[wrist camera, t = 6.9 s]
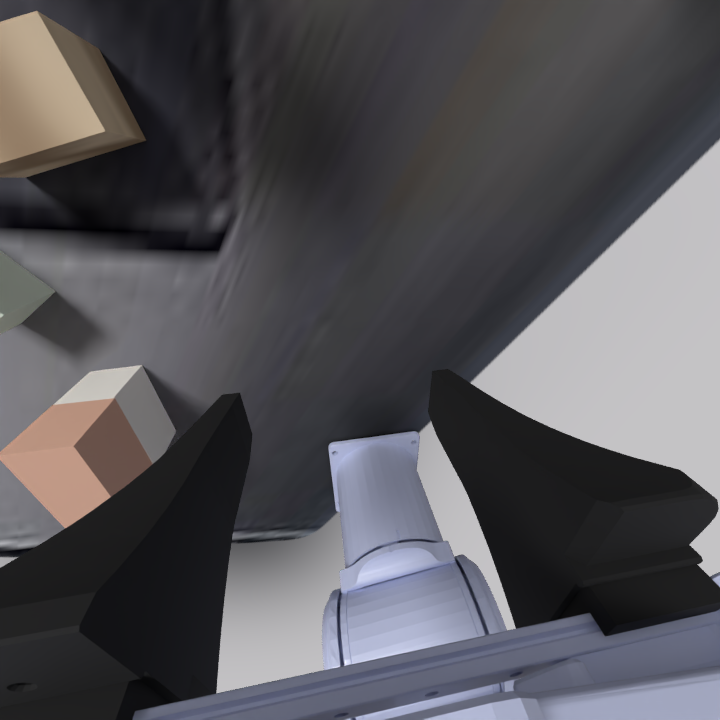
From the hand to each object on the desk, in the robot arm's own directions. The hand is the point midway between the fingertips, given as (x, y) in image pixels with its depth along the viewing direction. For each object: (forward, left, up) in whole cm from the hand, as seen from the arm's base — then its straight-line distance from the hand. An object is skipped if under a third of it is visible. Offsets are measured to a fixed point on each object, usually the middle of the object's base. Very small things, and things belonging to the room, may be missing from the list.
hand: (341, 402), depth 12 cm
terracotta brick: (-6, +14, -6) cm, 16 cm away
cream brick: (-6, +14, -10) cm, 18 cm away
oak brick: (+10, +11, -10) cm, 18 cm away
